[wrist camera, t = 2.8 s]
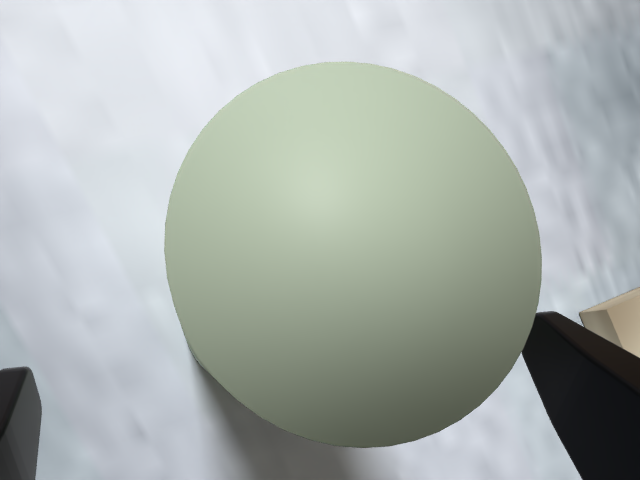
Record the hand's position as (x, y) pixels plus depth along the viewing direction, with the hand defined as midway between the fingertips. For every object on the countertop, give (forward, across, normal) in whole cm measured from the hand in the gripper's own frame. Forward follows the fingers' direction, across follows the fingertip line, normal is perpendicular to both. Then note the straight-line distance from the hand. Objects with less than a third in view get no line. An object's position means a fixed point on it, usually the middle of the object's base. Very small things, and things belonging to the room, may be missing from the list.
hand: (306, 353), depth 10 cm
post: (+7, 0, +6) cm, 9 cm away
